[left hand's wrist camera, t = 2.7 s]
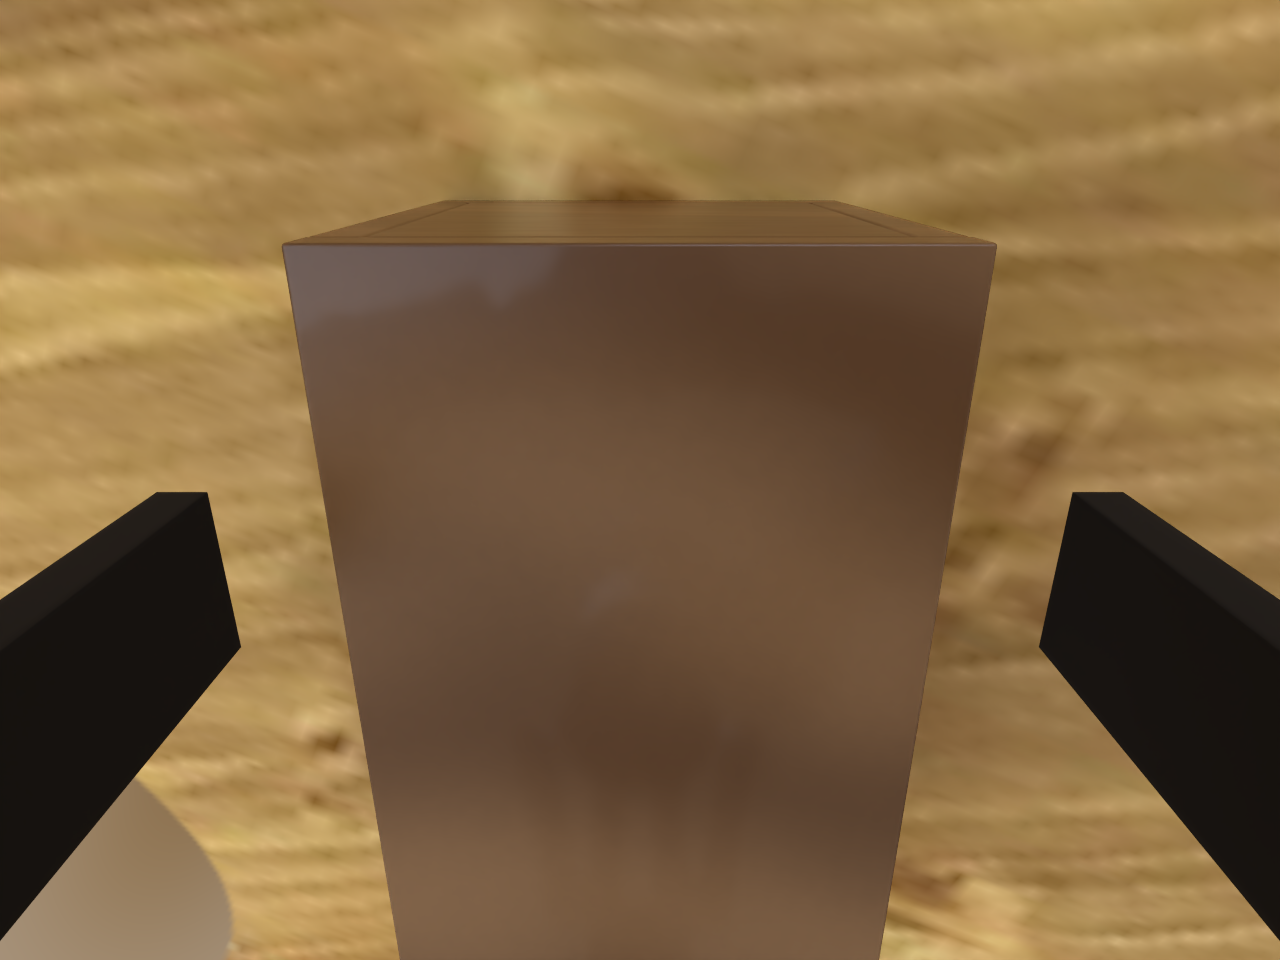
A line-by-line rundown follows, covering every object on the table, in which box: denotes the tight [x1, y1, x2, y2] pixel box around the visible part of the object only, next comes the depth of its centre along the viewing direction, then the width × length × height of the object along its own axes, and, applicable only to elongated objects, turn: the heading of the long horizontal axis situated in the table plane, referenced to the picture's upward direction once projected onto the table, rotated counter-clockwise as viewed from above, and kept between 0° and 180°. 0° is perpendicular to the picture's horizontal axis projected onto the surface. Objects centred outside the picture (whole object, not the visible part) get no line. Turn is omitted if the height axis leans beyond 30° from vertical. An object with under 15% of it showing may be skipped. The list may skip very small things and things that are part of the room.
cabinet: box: [282, 201, 997, 960], centre depth 21 cm, size 21×11×11 cm, turn 0°
